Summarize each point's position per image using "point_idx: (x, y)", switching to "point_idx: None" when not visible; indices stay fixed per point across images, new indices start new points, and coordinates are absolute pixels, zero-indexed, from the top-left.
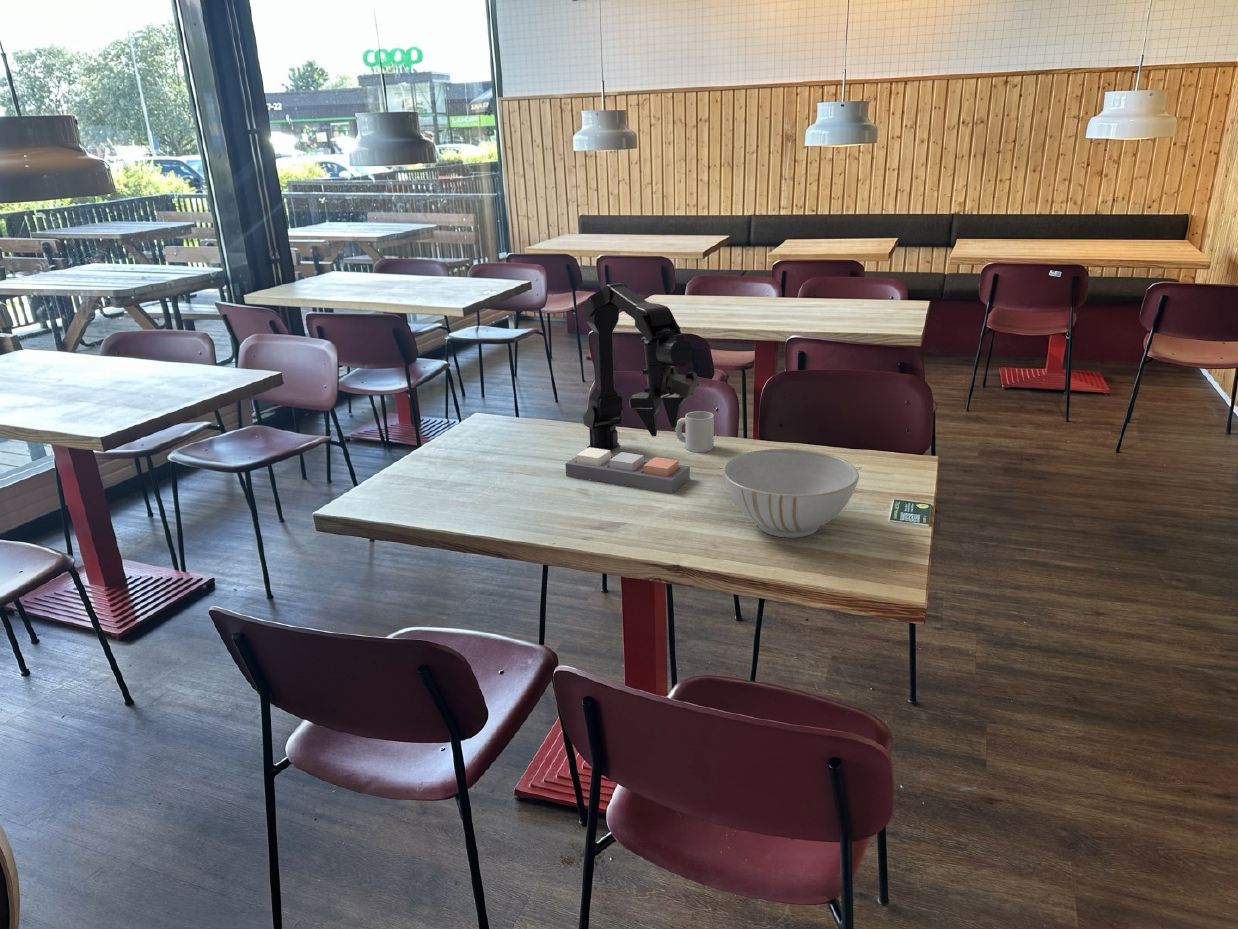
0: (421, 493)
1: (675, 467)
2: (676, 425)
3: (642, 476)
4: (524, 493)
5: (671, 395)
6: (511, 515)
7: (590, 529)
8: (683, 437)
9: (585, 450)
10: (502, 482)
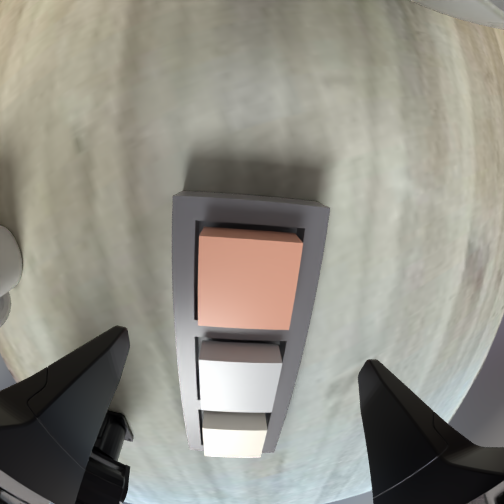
0: (362, 478)
1: (228, 232)
2: (112, 329)
3: (311, 307)
4: (358, 433)
5: (25, 499)
6: (430, 399)
7: (481, 288)
8: (2, 301)
9: (227, 455)
10: (320, 463)
